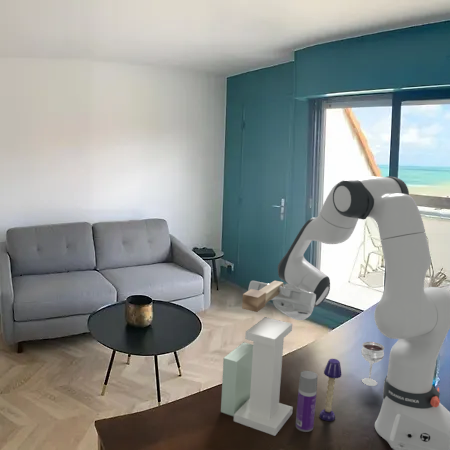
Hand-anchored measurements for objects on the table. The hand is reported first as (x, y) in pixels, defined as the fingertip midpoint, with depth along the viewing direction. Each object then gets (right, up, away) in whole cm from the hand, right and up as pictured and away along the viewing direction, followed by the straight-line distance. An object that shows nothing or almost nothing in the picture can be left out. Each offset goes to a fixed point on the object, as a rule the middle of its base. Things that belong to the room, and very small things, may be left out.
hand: (273, 287), depth 149 cm
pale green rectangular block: (-10, -33, -2) cm, 34 cm away
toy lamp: (+14, -35, -6) cm, 38 cm away
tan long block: (-3, -3, -5) cm, 6 cm away
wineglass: (+31, -31, +14) cm, 46 cm away
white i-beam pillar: (-4, -34, -8) cm, 35 cm away
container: (+7, -36, -12) cm, 38 cm away
